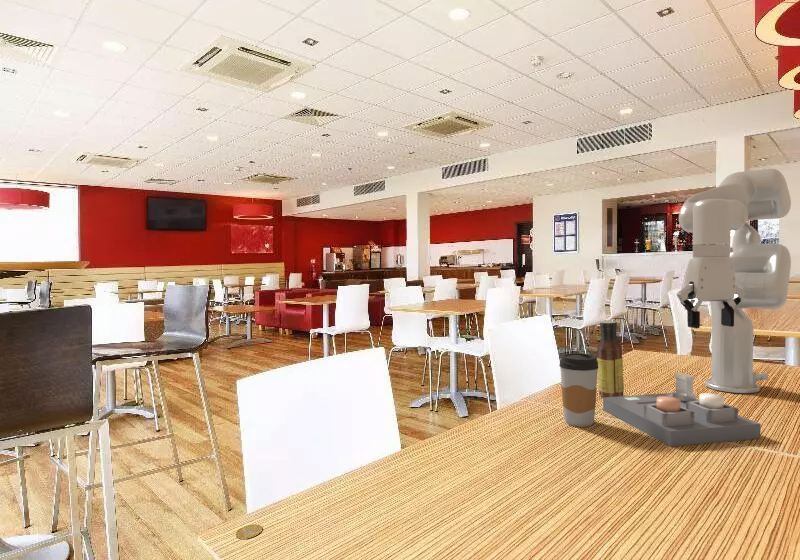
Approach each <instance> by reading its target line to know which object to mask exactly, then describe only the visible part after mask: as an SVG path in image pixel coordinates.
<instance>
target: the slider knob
mask: <svg viewBox="0 0 800 560" xmlns="http://www.w3.org/2000/svg"><path fill="white" fill-rule="evenodd" d="M673 377H674V378H675V391H672V393H673V397H675V398H678V399H680V400H682V401H693V400H696V399H697V395H696V394H694V393H693V392H694V387H693V386H694V381H696V380H695V379H696V377H695V376H694V375H691V374H687V373H684V372H675V373H673Z"/></svg>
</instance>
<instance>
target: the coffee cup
mask: <svg viewBox="0 0 800 560" xmlns="http://www.w3.org/2000/svg"><path fill="white" fill-rule="evenodd" d="M560 358H561V359H560V360H559V364H558V365H559V367H560V378H561V379H560V381H561V386H560V387H561V388H560V389H561V397H562V406H563V407H562V408H563V418H564V419H563V420H565V423H566V424H567V425H569V426H572V427H573V426H574V427H578V428H579V427H580V428H583V427H584V428H585V427H591V426H592V425H594V422H595V416H596V415H595V414H596V406H597V405H596V404H597V392H598V391H597V390H598V387H597V385H598V384H597V383H598V368H599V367H598V361H597V355H594V354H589V353H582V352H581V353H579V352H577V353H576V352H571V353H564V354H562V355H561V357H560Z"/></svg>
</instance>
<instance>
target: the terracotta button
mask: <svg viewBox="0 0 800 560" xmlns="http://www.w3.org/2000/svg"><path fill="white" fill-rule="evenodd" d="M657 409H658V410H661V411H663V412H665V413H669V412H681V400H680V399H678V398H675V397H668V396H660V397H657Z"/></svg>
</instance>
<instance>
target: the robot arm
mask: <svg viewBox="0 0 800 560" xmlns="http://www.w3.org/2000/svg"><path fill="white" fill-rule="evenodd" d="M791 200H792V199H791V195H790V191H789V188H788V184H787V180H786V178H785V176H784V174H783V173H782V172H781V171H780V170H778V169H776V168H764V169H757V170H755V169H753V170H747V171H746V170H745V171H738V172H733V173H730V174H729V175H728V176H726V177H725V178H724V179H723V180H722V182H721V183H720V184H719V185H718V186H716V187H713V188H710V189H707V190H705V191H702V192H698V193H696V194H694V195H691V196H690V197H688V198H687V199H686V201H684V203H683V205H682V206H681V208H680V210H679V212H678V213H679V214H678V222H679V226H680V228H681V229H682V230H683V231H685V232H688V233H692V258H689V259H688V263H687V267H686V275H685V281H684V283H685V284H684V287H683V288H682V289H680V290H679V291H677V293H676V296H677V298H678V300H679V301H680V304H681V305H682V306H683V307H684V310H685V311H687V312H686V313H687V327H688V328H693V329H700V328H701V327H700V326H701V313H700V311H699V310H698V309H699V308H700V306H701V305H702V303H703V302H709V303H710V309H711V378H707V379H705V380H704V385H705V387H707V388H710V389H713V390H715V391H720V392H726V393H734V394H755V393H758V392H760V391H761V389H760V387H761V386H760V385H759V384H758V383H757V382H758V381H767V380H768V379H769V375H768V373H767V372H758V373H757V371H754V323H753V321H752V320H751V318H750V317H749V315H748V314H747V313H746V312H745V311H744V310H743V309H757V310H758V309H760V310H776V309H780V308H782V307H783V306H784V305H785V304H786V301H787V299H788V298H787V297H788V293H789V291H788V290H789V285H790V277H791V268H792V267H791V266H792V264H791V263H792V259H791V253H790V250H789V249H788V248H787V247H786V246H785V245H784V244H780V243H761V240H762V237H761V234H760V233H759V232H758V231H757V230H756V229H755V228H754V227H753V226H752V225H750V223H747V222H748V221H754V220H755V221H756V220H759V221H760V220H773V219H774V220H776V219H782V218H784V217H786V216H787V215H788V214H789V212H790V210H791V206H792V205H791V204H792V202H791Z"/></svg>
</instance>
